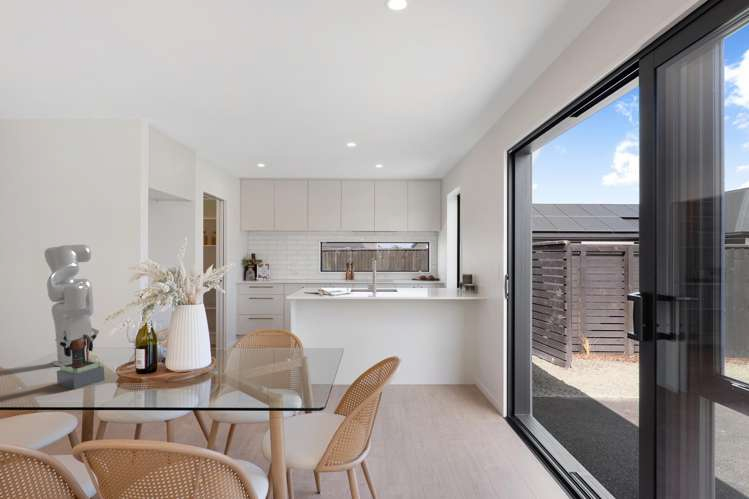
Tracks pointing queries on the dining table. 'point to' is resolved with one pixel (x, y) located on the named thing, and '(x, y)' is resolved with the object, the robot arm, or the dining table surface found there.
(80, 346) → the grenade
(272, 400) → the dining table surface
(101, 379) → the stand
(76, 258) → the robot arm
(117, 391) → the dining table surface
